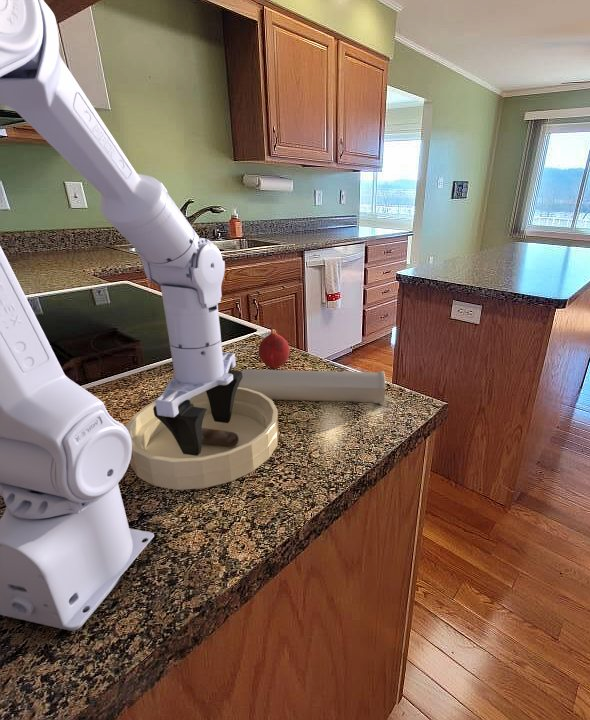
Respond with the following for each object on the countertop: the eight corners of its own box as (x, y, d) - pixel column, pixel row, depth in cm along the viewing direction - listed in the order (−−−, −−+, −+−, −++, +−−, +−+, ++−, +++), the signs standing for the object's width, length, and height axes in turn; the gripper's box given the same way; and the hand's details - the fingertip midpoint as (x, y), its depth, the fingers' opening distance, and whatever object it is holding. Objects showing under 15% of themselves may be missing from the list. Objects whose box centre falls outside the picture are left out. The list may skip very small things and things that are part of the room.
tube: (225, 384, 61) (385, 388, 62) (234, 361, 65) (384, 365, 66) (232, 407, 65) (383, 410, 66) (239, 384, 69) (382, 387, 70)
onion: (295, 371, 76) (294, 332, 73) (266, 377, 73) (264, 337, 70) (283, 360, 81) (281, 323, 78) (255, 366, 78) (252, 327, 75)
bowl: (242, 505, 44) (239, 472, 42) (95, 480, 46) (86, 448, 44) (296, 420, 60) (295, 394, 59) (186, 405, 63) (182, 379, 61)
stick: (241, 442, 53) (240, 430, 53) (234, 451, 52) (233, 438, 51) (184, 434, 55) (182, 421, 54) (175, 442, 53) (173, 429, 52)
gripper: (192, 368, 40) (206, 475, 46) (253, 325, 53) (259, 412, 59) (129, 360, 41) (151, 466, 46) (204, 320, 54) (214, 406, 60)
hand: (208, 436), depth 53 cm, fingers open, 7 cm apart
